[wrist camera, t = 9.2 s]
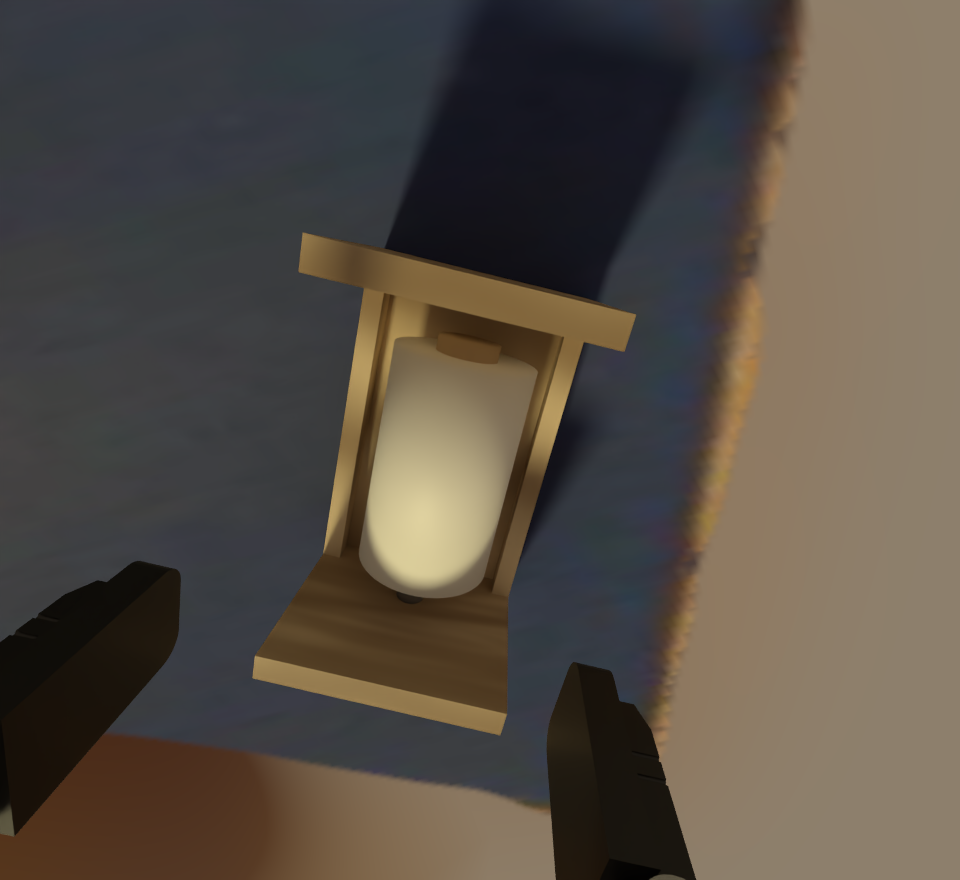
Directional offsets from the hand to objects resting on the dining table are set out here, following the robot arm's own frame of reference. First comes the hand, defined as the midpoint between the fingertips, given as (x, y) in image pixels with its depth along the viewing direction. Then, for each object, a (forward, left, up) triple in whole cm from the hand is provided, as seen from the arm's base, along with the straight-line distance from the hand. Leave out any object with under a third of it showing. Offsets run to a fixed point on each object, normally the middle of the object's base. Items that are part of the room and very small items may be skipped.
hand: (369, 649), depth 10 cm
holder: (0, 0, -15) cm, 15 cm away
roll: (0, 0, -14) cm, 14 cm away
